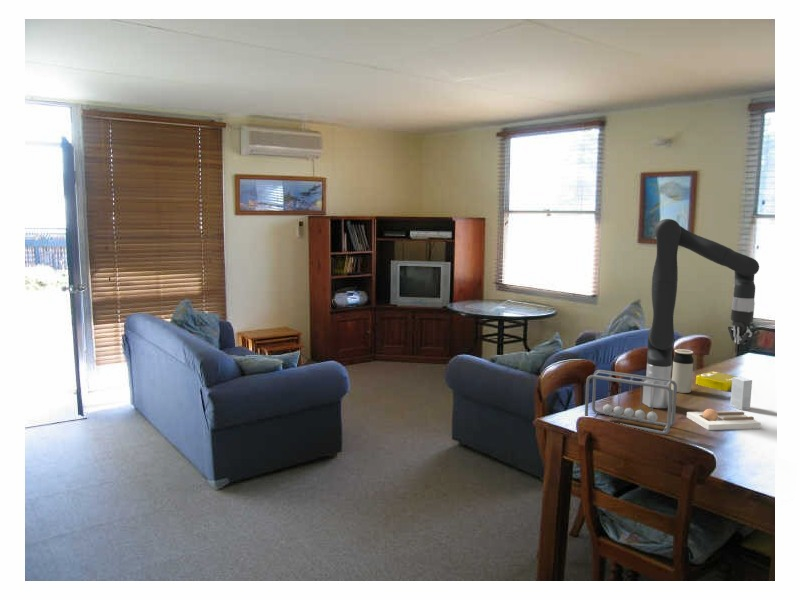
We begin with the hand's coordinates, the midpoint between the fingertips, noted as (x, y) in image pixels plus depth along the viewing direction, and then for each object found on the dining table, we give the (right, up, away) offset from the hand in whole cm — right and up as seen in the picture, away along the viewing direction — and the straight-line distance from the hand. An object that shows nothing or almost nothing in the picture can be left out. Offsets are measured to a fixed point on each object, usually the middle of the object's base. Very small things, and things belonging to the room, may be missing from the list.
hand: (738, 353), depth 236 cm
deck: (-10, -25, -8) cm, 29 cm away
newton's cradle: (-46, -26, -9) cm, 54 cm away
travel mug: (-7, -20, +32) cm, 38 cm away
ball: (-15, -23, -8) cm, 28 cm away
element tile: (+14, -19, +42) cm, 48 cm away
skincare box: (+6, -23, +10) cm, 26 cm away
